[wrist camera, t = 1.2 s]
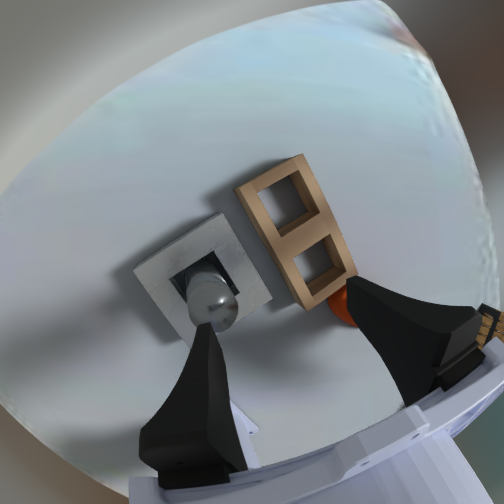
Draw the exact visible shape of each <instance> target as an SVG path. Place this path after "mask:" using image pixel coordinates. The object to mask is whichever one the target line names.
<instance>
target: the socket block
mask: <svg viewBox="0 0 504 504" xmlns="http://www.w3.org/2000/svg"><path fill="white" fill-rule="evenodd" d="M212 251H214V253H215V255H216V256H217V258H218V259H219V261H220V263H221V264H222V266H223V267H224V269H225V271H226V272H227V274H228V275H229V277H230V279H231V280H232V282H233V283H234V285H232V286H231V287H229V288H230V290H231V292H232V293H233V295H234V296H235V298H236V300H237V302H238V308H239V310H238V316H237V318H236V320H235V322H234V323H236V322H238V321H239V320H241V319H242V318H244V317H245V316H247V315H248V314H250V313H252V312H253V311H255V310H256V309H258V308H259V307H261V306H262V305H264V304H265V303H267V302H268V301H270V300H271V299H273V298H272V296H271V294H270V293H269V291H268V289H267V288H266V286H265V284H264V282H263V281H262V279H261V277H260V276H259V274H258V272H257V271H256V269H255V267H254V266H253V264H252V262H251V260H250V259H249V257H248V255H247V254H246V252H245V250H244V249H243V247H242V245H241V243H240V242H239V240H238V238H237V237H236V235H235V233H234V232H233V230H232V228H231V226H230V225H229V223H228V221H227V220H226V218H225V216H224V215H223V213H219V212H218V213H216V214H215V215H213V216H211V217H210V218H208V219H206V220H205V221H203V222H202V223H200V224H198V225H197V226H195V227H194V228H192V229H190V230H189V231H187V232H186V233H184V234H182V235H181V236H179V237H178V238H176V239H175V240H173V241H171V242H170V243H168V244H167V245H165V246H164V247H162V248H161V249H159V250H158V251H156V252H155V253H153V254H152V255H150V256H149V257H147V258H146V259H144V260H143V261H141V262H140V263H138V264H137V265H136V267H135V268H134V270H133V272H134V273H135V275H136V276H137V278H138V279H139V281H140V282H141V284H142V285H143V287H144V288H145V290H146V291H147V292H148V294H149V295H150V297H151V298H152V299H153V301H154V302H155V304H156V305H157V306H158V308H159V309H160V310H161V312H162V313H163V314H164V316H165V317H166V318H167V320H168V321H169V322H170V324H171V325H172V326H173V328H174V329H175V330H176V331H177V333H178V334H179V335H180V336H181V338H182V339H183V340H184V341H185V343H186V344H187V345H188V346H189V348H190V349H191V347H192V344H193V341H194V337H195V333H196V329H197V328H196V327H195V326H194V324H193V323H192V322H191V320H190V317H189V312H188V304H187V296H186V295H185V293H184V292H183V290H182V289H181V287H180V286H179V284H178V283H177V281H176V280H175V279H174V277H173V276H174V275H176V274H177V273H179V272H180V271H182V270H183V269H185V268H186V267H188V266H190V265H191V264H193V263H194V262H196V261H197V260H199V259H201V258H202V257H204V256H205V255H207V254H209V253H210V252H212ZM234 323H233V324H234ZM233 324H232V325H233ZM219 333H220V332H219ZM217 334H218V333H215V335H217Z"/></svg>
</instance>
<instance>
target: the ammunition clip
mask: <svg viewBox="0 0 504 504" xmlns="http://www.w3.org/2000/svg"><path fill="white" fill-rule="evenodd" d="M479 313H480V314H481V315H482V317H483V320H482V325H481V328H480V331H479V333H478V335H477V338H476V341H477V342H478V343H480V344H479V346H478V348H479V349H480V350H482V348H483V347H484V346H485V345H486V344H487V343H488V342H489V341H491V340H492V339H493V338H494V337H497V338H498V339H499V340H500V341H501V342H502V343H503V344H504V334H502V333H500V332H503V333H504V323H502V322H504V312H502V311H499V310H497V309H494V308H492V307H489V306H487V305H485V304H483V303H482V304H481V307H480V310H479ZM486 315H487V316H486ZM488 316H490V317H488ZM491 317H492V318H491ZM500 321H502V322H500ZM483 324H484V325H483ZM485 325H486V326H485ZM487 326H488V327H487ZM489 327H491V328H489ZM497 330H498V331H500V332H498V331H497ZM480 333H481V334H480ZM482 334H483V335H482ZM484 335H485V336H484ZM486 336H487V337H486ZM481 344H482V345H481Z"/></svg>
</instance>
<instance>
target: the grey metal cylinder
mask: <svg viewBox="0 0 504 504" xmlns="http://www.w3.org/2000/svg"><path fill="white" fill-rule="evenodd" d="M185 287H186V296H187V304H188V312H189V317H190V320H191V322H192V323H193V324H194V326H195V327H196V328H197V326H198V325H200V324H204V323H207V322H210V323H211V325H212V328H213V330H214V332H215V333H219V332H222V331H224V330H226V329H228V328H229V327H230V326H231V325H232V324H233V323H234V322H235V320H236V318H237V316H238V310H239V308H238V302H237V300H236V298H235V296H234V295H233V293H232V292H231V290H230V288H229V287H228V285H227V284H226V282H225V280H224V279H223V277H222V276H221V274H220V272H219V271H218V269H217V268H216V266H215V265H214V264H212V263H211V262H208V261H197V262H194V263H193V264H191V265H190V266H189V267H188V269H187V270H186V273H185Z"/></svg>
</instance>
